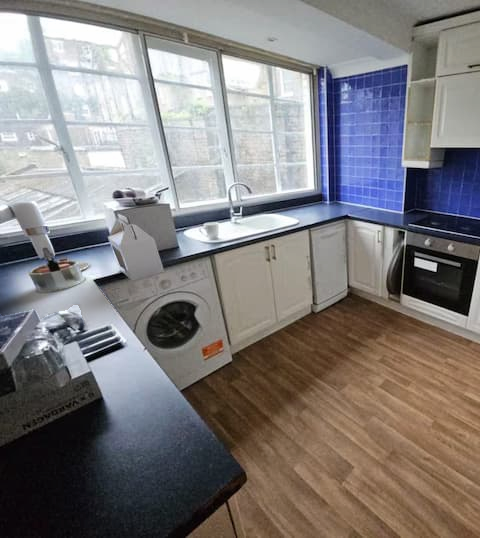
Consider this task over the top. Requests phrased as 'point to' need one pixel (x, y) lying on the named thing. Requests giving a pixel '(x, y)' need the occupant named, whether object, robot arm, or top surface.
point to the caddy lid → (81, 265)
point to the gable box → (134, 250)
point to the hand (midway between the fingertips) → (55, 270)
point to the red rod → (50, 271)
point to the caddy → (57, 277)
